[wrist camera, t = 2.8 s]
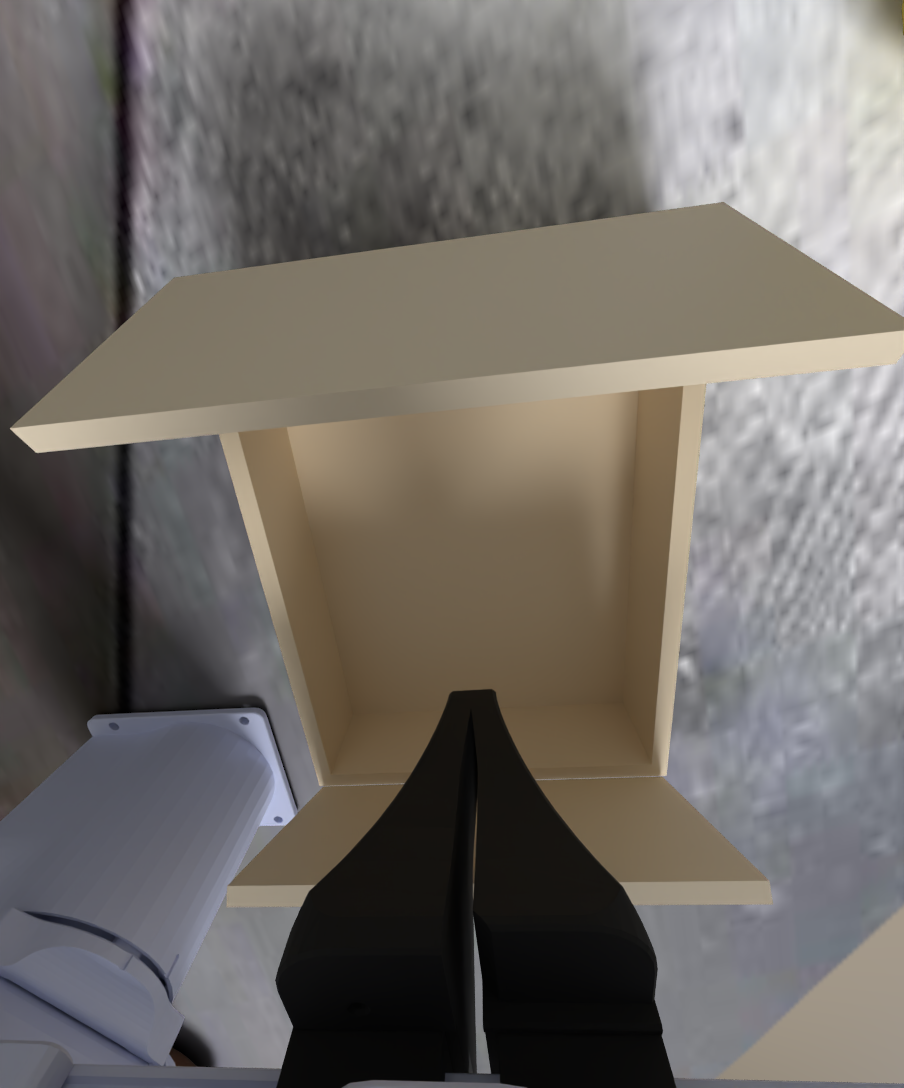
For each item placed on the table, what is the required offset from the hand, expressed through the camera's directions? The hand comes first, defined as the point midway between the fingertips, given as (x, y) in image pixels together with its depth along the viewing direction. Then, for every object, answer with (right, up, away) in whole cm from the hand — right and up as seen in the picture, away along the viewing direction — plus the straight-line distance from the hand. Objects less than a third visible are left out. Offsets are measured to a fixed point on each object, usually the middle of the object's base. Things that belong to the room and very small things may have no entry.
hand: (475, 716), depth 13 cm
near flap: (-1, +10, -4) cm, 11 cm away
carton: (0, +6, +5) cm, 7 cm away
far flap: (0, -4, +1) cm, 4 cm away
